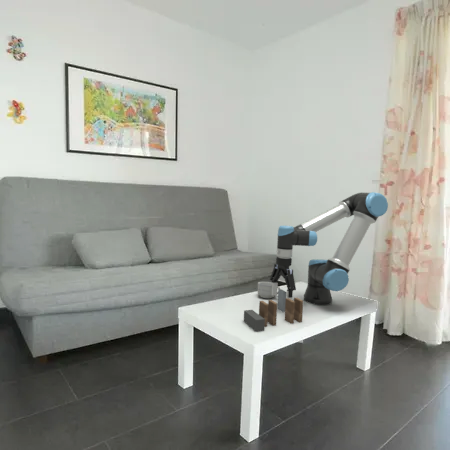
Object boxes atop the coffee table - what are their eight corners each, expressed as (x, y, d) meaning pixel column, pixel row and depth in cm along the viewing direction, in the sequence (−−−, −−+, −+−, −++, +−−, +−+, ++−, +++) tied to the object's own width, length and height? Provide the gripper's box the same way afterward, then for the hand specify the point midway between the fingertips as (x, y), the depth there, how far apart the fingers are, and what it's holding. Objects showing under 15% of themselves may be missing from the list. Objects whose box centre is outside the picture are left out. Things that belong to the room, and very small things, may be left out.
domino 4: (287, 319, 155) (288, 298, 154) (293, 323, 151) (294, 301, 150) (284, 319, 155) (285, 298, 154) (290, 323, 150) (291, 301, 149)
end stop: (251, 320, 152) (252, 309, 152) (264, 330, 141) (264, 319, 141) (243, 321, 151) (244, 310, 150) (255, 331, 140) (256, 320, 139)
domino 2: (270, 321, 152) (271, 299, 151) (276, 325, 147) (277, 303, 146) (267, 321, 151) (268, 300, 150) (272, 325, 147) (274, 303, 146)
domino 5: (295, 318, 157) (296, 297, 156) (302, 322, 152) (303, 300, 151) (292, 318, 156) (294, 297, 155) (299, 322, 152) (300, 301, 151)
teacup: (253, 296, 190) (253, 282, 189) (267, 293, 196) (267, 279, 195) (270, 302, 178) (271, 288, 178) (284, 299, 185) (285, 285, 184)
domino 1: (261, 322, 150) (262, 300, 149) (267, 326, 146) (268, 304, 145) (258, 322, 150) (259, 301, 149) (263, 327, 145) (265, 304, 144)
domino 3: (280, 308, 170) (281, 289, 169) (285, 311, 165) (286, 292, 164) (277, 308, 169) (278, 289, 168) (282, 312, 165) (283, 292, 164)
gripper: (265, 252, 175) (262, 292, 177) (291, 262, 152) (288, 308, 154) (277, 252, 178) (274, 291, 180) (305, 262, 155) (302, 306, 157)
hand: (281, 299), depth 167 cm, fingers open, 13 cm apart
